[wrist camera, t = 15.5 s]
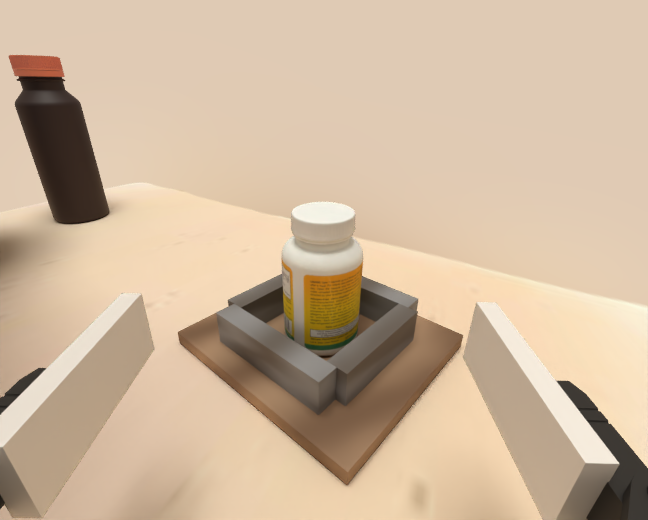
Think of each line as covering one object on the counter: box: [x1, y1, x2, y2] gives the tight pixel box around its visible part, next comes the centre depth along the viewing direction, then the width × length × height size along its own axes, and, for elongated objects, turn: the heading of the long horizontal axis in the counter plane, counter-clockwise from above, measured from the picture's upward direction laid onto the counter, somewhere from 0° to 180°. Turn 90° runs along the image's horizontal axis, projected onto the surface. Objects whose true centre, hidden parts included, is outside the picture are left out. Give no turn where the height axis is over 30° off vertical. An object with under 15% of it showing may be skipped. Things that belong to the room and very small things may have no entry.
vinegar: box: [9, 55, 109, 223], centre depth 47 cm, size 7×7×20 cm
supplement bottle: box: [282, 202, 363, 356], centre depth 24 cm, size 5×5×10 cm
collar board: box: [178, 274, 463, 485], centre depth 26 cm, size 16×14×4 cm
